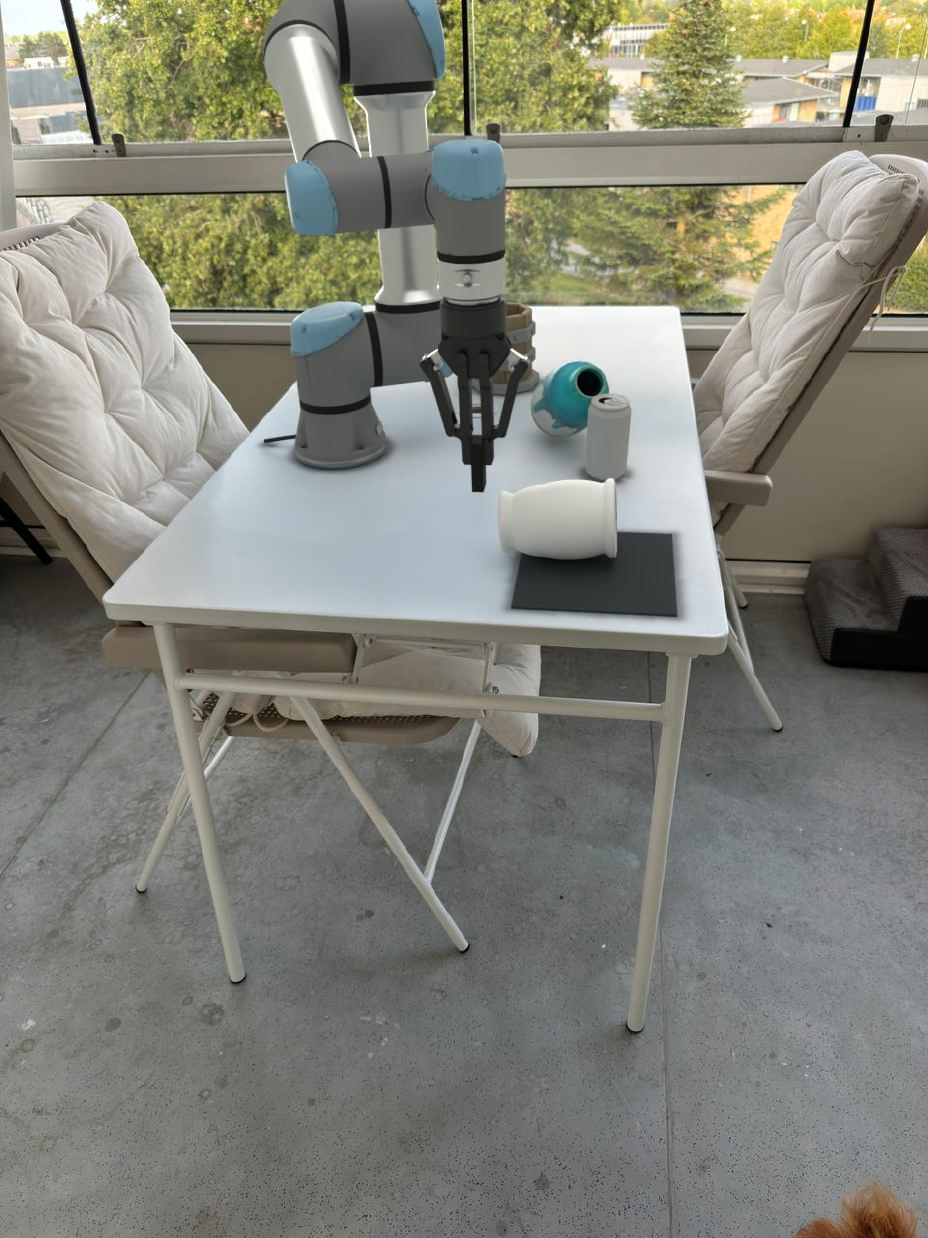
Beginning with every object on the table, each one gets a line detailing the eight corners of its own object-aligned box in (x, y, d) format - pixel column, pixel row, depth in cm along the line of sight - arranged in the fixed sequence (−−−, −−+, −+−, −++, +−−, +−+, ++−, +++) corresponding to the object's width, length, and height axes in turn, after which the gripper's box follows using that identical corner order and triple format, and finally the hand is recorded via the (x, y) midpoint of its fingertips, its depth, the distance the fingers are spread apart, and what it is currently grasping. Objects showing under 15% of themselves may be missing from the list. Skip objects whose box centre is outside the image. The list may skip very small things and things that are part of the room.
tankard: (545, 374, 183) (545, 296, 174) (524, 397, 173) (524, 316, 165) (450, 366, 189) (446, 290, 181) (426, 387, 180) (420, 308, 171)
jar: (495, 556, 118) (615, 552, 115) (495, 475, 118) (614, 469, 115) (507, 565, 128) (617, 562, 125) (506, 491, 129) (616, 486, 126)
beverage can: (599, 459, 149) (603, 388, 141) (634, 470, 145) (640, 398, 138) (576, 475, 145) (580, 402, 138) (612, 486, 141) (617, 412, 134)
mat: (511, 608, 115) (511, 606, 115) (526, 530, 131) (526, 528, 131) (676, 616, 112) (677, 614, 112) (671, 535, 128) (671, 533, 128)
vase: (584, 383, 160) (625, 350, 141) (582, 445, 160) (623, 419, 141) (524, 378, 158) (557, 343, 139) (522, 440, 158) (555, 414, 139)
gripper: (408, 305, 102) (422, 499, 115) (527, 305, 100) (528, 502, 113) (421, 286, 108) (433, 473, 121) (533, 286, 106) (533, 475, 119)
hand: (479, 487), depth 117 cm, fingers closed
